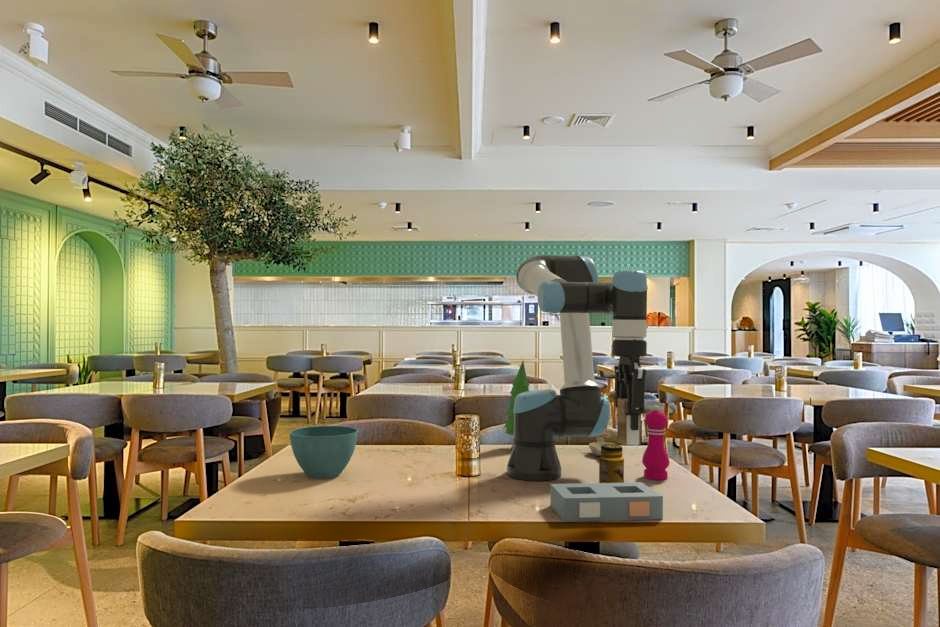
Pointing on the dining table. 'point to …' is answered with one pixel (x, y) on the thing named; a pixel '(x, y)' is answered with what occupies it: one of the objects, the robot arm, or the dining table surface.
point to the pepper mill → (655, 446)
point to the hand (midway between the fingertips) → (628, 442)
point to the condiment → (611, 464)
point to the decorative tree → (518, 387)
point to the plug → (624, 421)
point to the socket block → (606, 502)
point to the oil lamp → (599, 442)
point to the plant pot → (323, 449)
